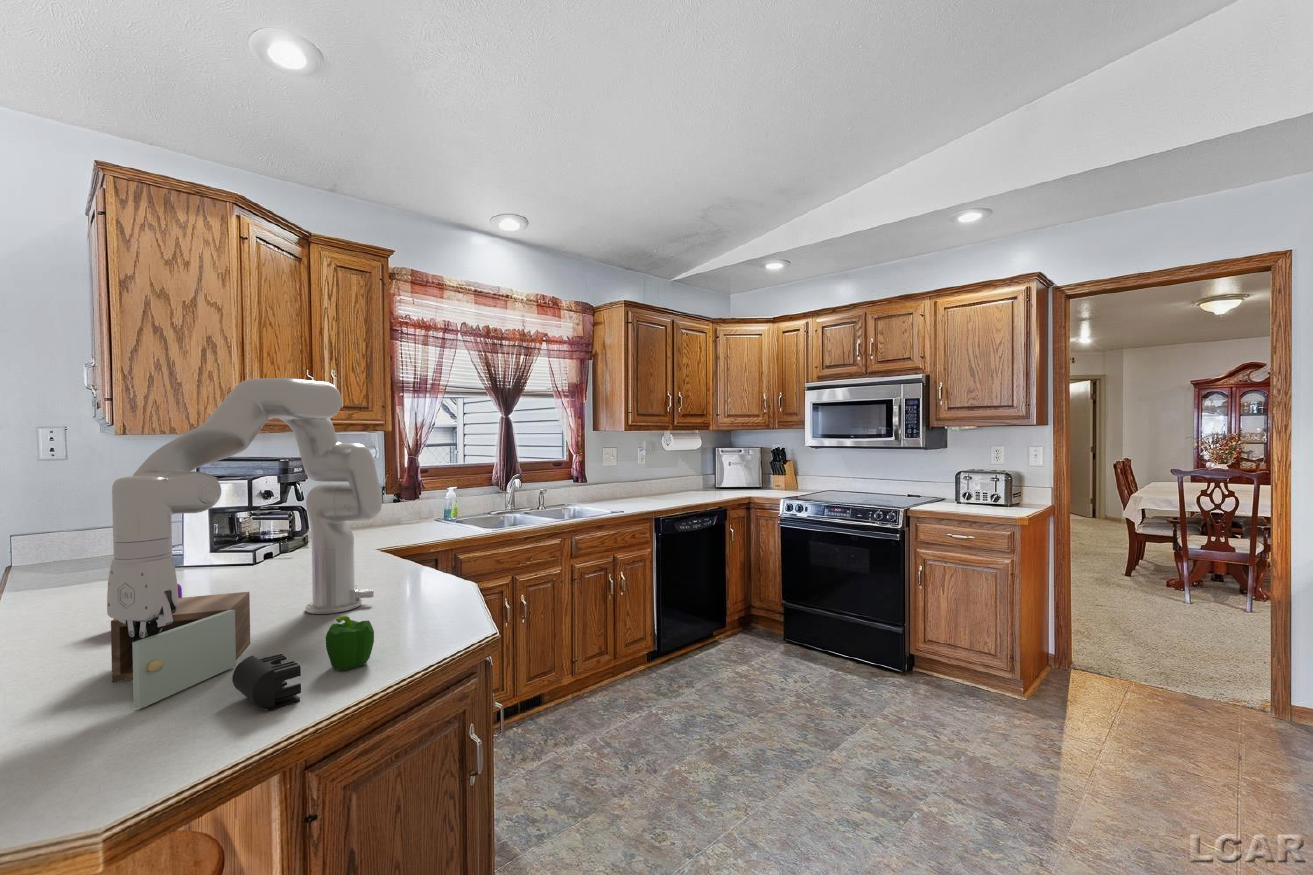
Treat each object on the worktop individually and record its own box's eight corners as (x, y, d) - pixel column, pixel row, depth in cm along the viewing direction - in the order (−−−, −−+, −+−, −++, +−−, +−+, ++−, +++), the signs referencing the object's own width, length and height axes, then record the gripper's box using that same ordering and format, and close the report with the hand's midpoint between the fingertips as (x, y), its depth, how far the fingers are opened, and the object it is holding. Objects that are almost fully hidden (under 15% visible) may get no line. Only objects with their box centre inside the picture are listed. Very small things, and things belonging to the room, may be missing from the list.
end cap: (232, 701, 101) (231, 660, 101) (279, 687, 106) (279, 648, 106) (252, 718, 94) (252, 675, 94) (302, 702, 100) (301, 661, 100)
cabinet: (250, 643, 128) (249, 591, 128) (230, 666, 115) (229, 609, 115) (145, 655, 122) (144, 600, 122) (111, 682, 109) (110, 620, 109)
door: (230, 665, 115) (229, 609, 115) (241, 666, 115) (240, 610, 115) (133, 708, 97) (132, 642, 97) (146, 709, 97) (145, 643, 97)
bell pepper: (361, 654, 121) (360, 604, 121) (381, 664, 116) (380, 611, 116) (316, 667, 115) (315, 614, 115) (335, 678, 110) (334, 623, 110)
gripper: (85, 552, 100) (88, 662, 100) (153, 556, 96) (156, 671, 97) (134, 543, 107) (137, 646, 108) (199, 546, 104) (202, 653, 104)
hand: (146, 657), depth 102 cm, fingers closed
